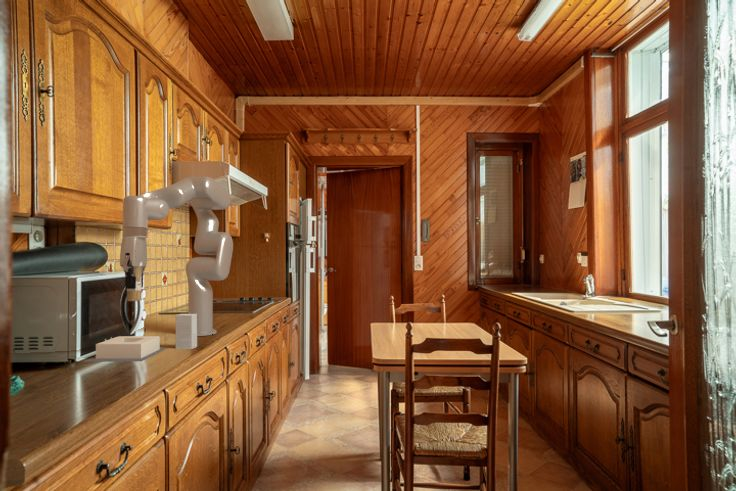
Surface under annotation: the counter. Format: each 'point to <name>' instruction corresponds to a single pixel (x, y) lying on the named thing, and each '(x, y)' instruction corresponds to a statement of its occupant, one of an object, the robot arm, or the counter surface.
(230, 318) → the counter surface
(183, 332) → the skincare box
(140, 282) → the sprinkles bottle
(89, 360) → the slate mat
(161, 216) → the robot arm
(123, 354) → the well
